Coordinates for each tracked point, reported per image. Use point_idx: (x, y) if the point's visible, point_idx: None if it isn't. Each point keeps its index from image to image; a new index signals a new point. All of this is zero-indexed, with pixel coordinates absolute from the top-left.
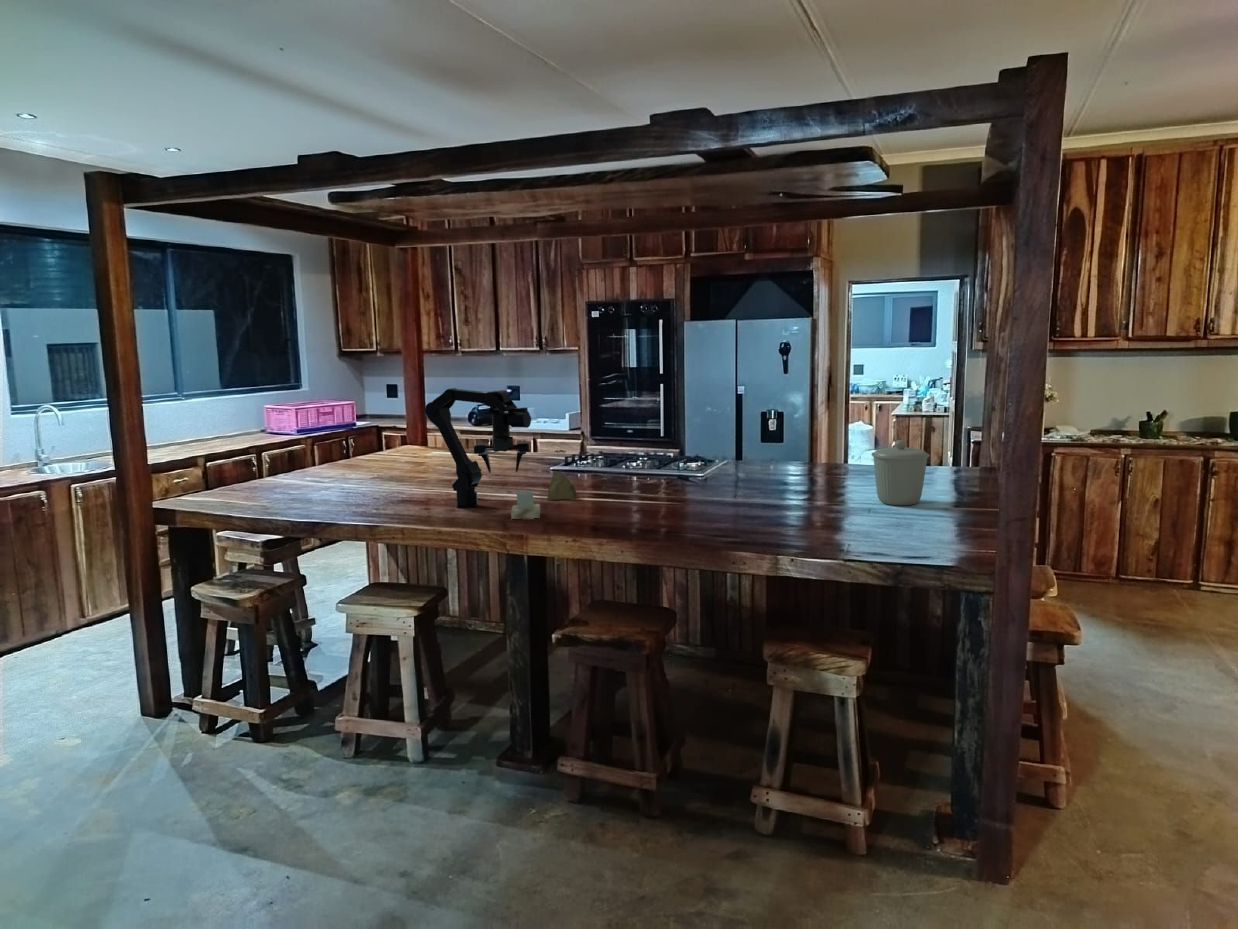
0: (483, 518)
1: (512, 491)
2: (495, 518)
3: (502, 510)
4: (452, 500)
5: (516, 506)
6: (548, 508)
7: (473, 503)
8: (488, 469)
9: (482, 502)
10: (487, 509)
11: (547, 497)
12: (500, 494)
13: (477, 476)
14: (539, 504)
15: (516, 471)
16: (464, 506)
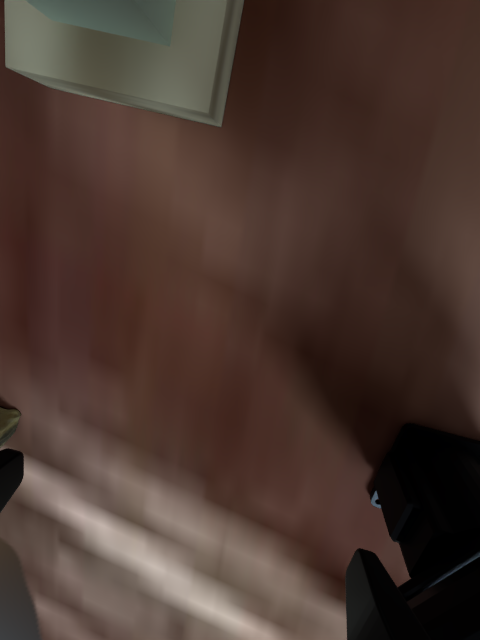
0: (451, 58)
1: (164, 634)
2: (368, 17)
3: (270, 275)
4: None
5: (187, 38)
6: (6, 210)
7: (411, 455)
8: (402, 605)
9: (332, 513)
10: (348, 343)
11: (8, 424)
12: (220, 613)
13: (447, 636)
14: (8, 49)
15: (13, 453)
16: (467, 441)
